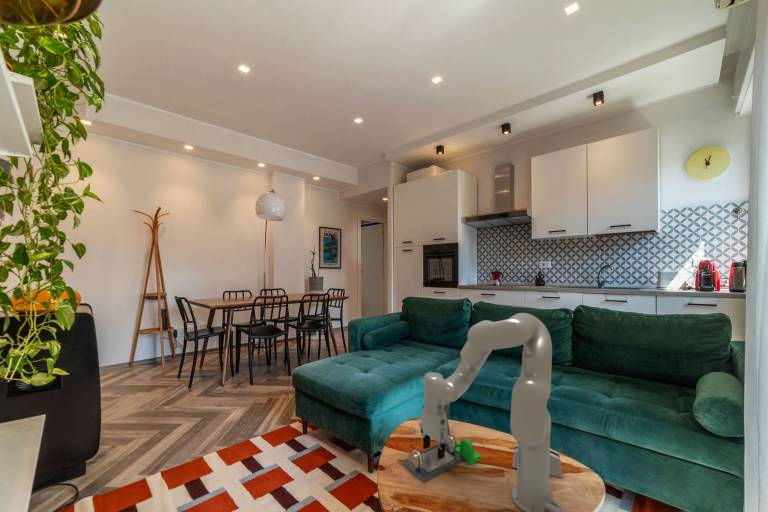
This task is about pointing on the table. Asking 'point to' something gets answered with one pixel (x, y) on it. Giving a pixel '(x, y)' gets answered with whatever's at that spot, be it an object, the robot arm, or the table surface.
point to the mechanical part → (467, 451)
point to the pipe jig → (433, 461)
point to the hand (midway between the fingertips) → (433, 452)
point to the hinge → (554, 463)
